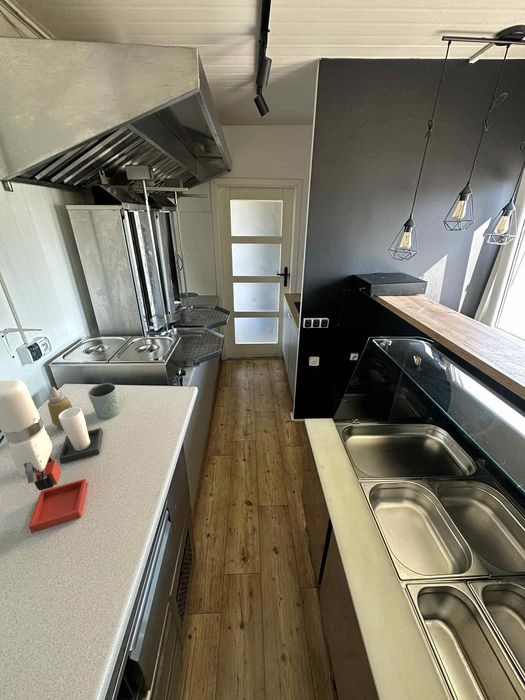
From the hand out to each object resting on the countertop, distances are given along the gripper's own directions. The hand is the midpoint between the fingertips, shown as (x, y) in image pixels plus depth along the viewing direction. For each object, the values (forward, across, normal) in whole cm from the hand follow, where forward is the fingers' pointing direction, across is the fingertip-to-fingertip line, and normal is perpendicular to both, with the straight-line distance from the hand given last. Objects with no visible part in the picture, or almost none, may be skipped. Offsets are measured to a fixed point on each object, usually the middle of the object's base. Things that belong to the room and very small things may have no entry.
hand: (49, 479), depth 78 cm
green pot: (+11, -42, +9) cm, 44 cm away
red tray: (+11, 0, 0) cm, 11 cm away
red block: (0, 0, 0) cm, 0 cm away
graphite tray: (+11, -24, +2) cm, 27 cm away
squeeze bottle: (+11, -40, -6) cm, 42 cm away
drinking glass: (+11, -24, +2) cm, 26 cm away
